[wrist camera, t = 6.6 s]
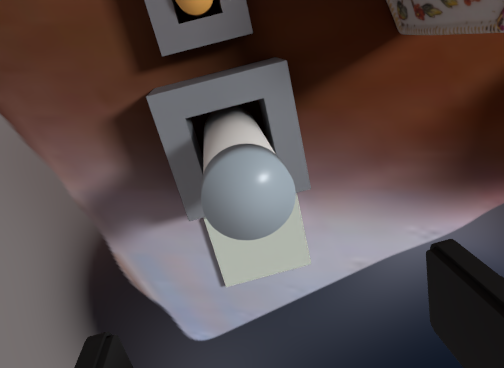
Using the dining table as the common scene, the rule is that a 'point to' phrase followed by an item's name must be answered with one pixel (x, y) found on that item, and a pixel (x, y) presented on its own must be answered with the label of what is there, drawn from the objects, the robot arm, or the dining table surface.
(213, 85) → the grey square holder
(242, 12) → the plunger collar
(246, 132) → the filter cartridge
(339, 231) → the dining table surface
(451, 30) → the decorative jar
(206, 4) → the release plunger
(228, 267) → the mat
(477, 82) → the dining table surface
